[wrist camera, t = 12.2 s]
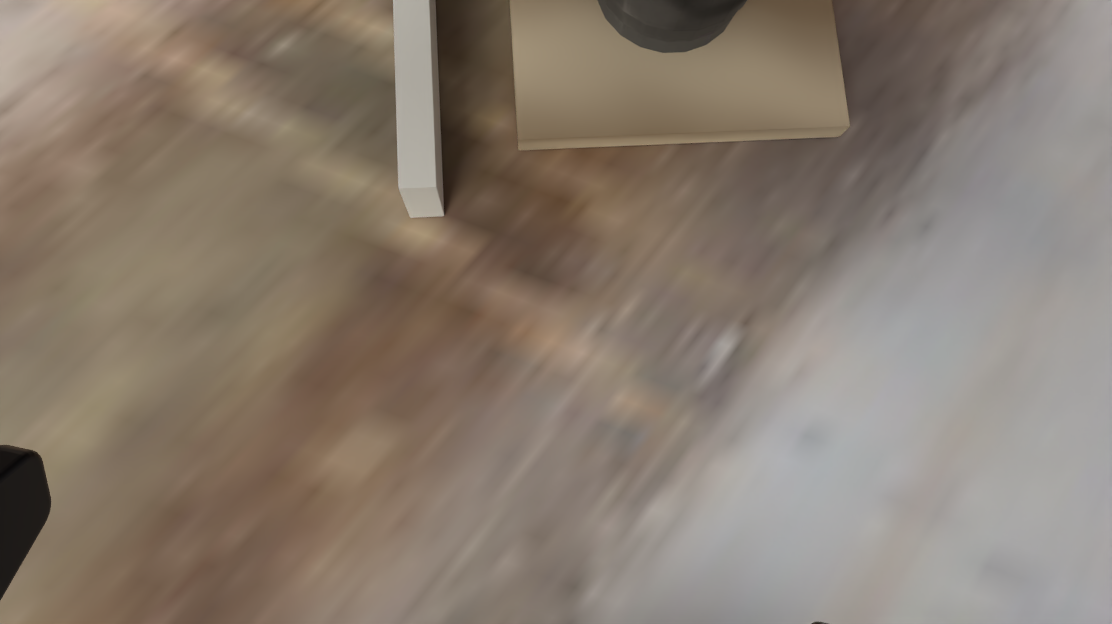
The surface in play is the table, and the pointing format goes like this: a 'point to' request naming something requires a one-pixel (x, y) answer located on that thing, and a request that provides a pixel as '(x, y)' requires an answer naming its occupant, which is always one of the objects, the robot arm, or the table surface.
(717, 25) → the beverage cup
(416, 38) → the divider wall
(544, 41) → the coaster
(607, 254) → the table surface
